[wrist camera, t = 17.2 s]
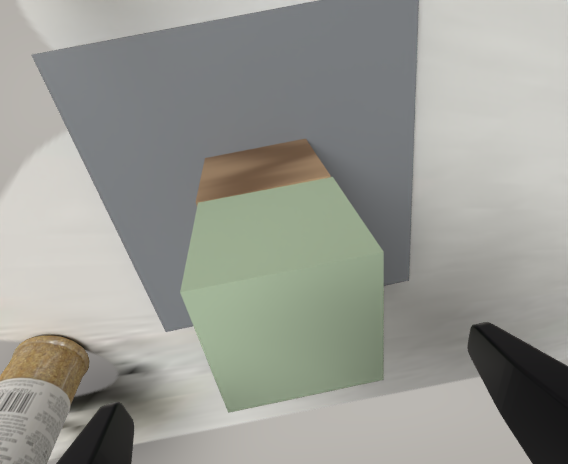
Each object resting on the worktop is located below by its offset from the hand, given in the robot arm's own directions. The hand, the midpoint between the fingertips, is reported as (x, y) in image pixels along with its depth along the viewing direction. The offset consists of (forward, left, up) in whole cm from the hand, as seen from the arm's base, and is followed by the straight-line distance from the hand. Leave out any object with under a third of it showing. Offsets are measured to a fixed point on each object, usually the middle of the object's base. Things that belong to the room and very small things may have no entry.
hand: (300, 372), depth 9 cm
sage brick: (0, 0, -6) cm, 6 cm away
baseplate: (0, 0, -12) cm, 12 cm away
